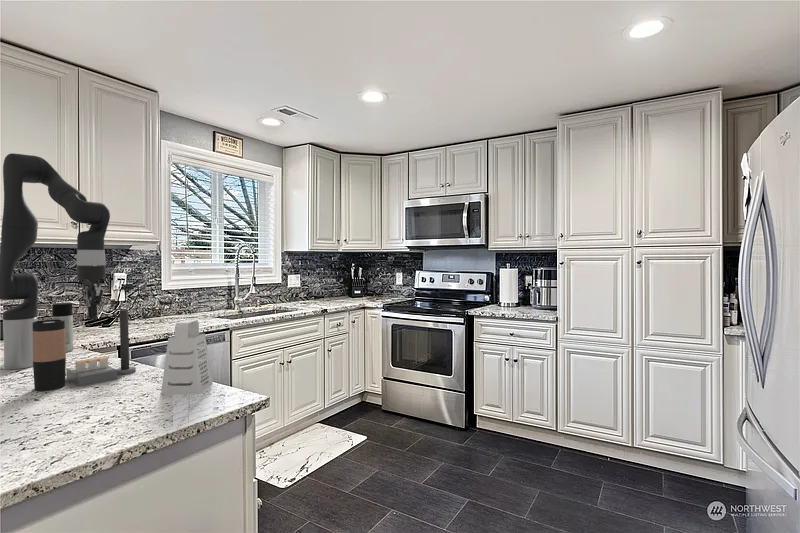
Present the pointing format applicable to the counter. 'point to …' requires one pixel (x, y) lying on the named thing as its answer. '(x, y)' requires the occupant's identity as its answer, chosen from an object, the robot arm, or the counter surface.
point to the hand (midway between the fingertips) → (92, 318)
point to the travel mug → (49, 354)
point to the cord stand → (124, 345)
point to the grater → (186, 360)
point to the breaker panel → (91, 375)
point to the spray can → (65, 313)
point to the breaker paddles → (91, 363)
